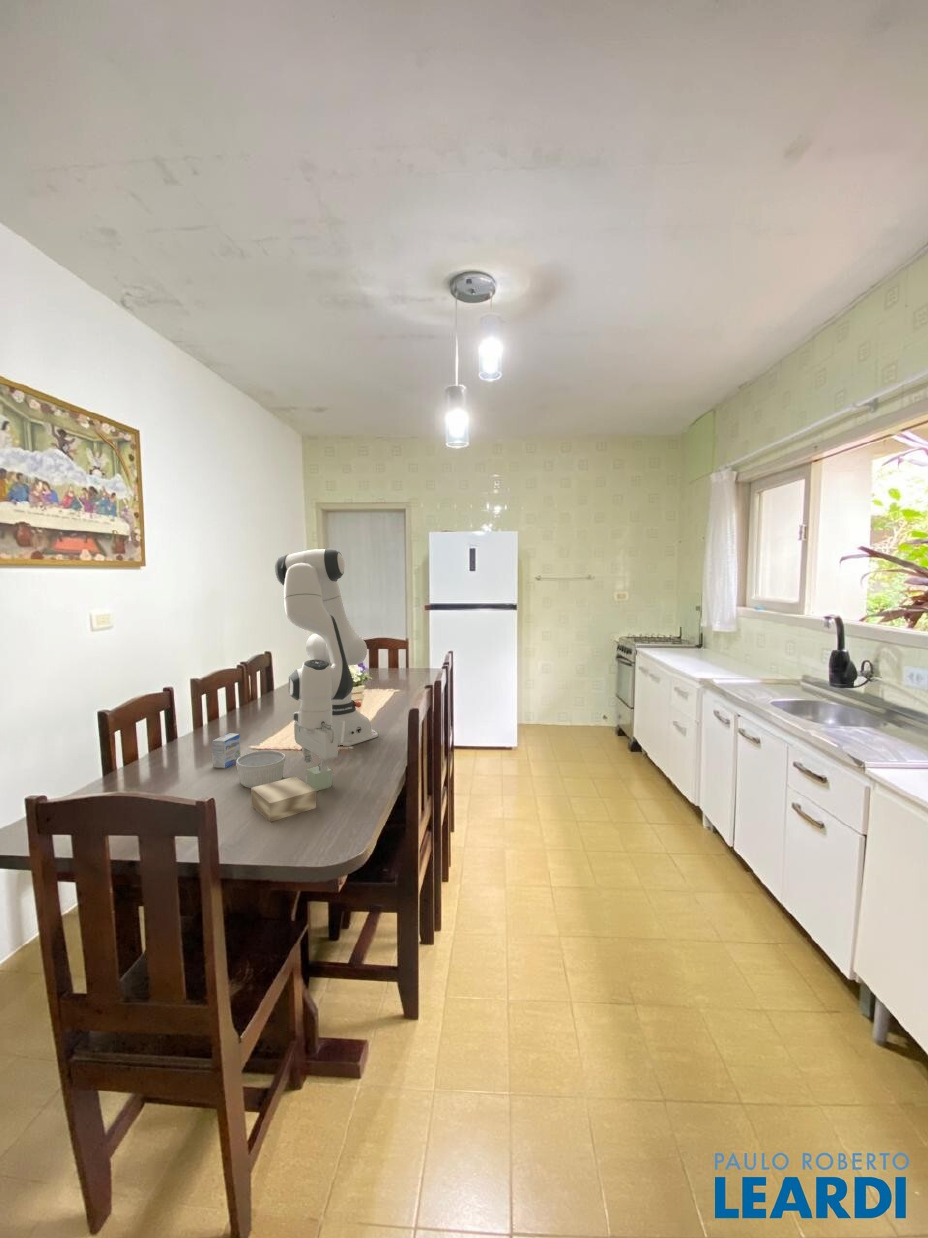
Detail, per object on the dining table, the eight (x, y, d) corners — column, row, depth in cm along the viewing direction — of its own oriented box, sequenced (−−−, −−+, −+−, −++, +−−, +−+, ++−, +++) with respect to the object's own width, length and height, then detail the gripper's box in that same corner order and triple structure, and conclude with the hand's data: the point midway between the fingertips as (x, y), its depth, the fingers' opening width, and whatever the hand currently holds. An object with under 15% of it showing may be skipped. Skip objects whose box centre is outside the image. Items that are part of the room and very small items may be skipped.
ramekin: (255, 794, 140) (255, 769, 140) (226, 783, 147) (226, 759, 147) (294, 779, 152) (294, 755, 151) (266, 769, 159) (265, 747, 158)
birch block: (295, 794, 142) (295, 776, 142) (315, 809, 133) (315, 790, 133) (251, 806, 134) (251, 787, 134) (270, 823, 125) (269, 803, 125)
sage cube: (322, 781, 150) (322, 764, 150) (331, 787, 147) (331, 769, 146) (306, 786, 147) (306, 769, 146) (315, 791, 143) (314, 774, 143)
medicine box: (224, 769, 158) (224, 741, 157) (211, 767, 159) (211, 740, 158) (240, 760, 166) (240, 733, 165) (228, 759, 166) (228, 732, 166)
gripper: (344, 725, 139) (343, 775, 140) (310, 709, 154) (310, 755, 155) (322, 728, 135) (321, 780, 136) (290, 712, 150) (289, 759, 151)
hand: (315, 766), depth 146 cm, fingers open, 8 cm apart
